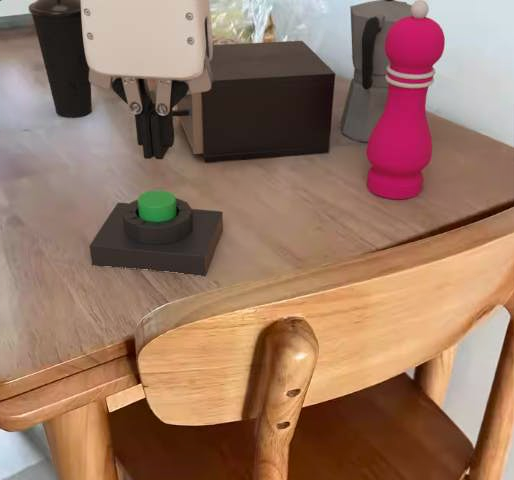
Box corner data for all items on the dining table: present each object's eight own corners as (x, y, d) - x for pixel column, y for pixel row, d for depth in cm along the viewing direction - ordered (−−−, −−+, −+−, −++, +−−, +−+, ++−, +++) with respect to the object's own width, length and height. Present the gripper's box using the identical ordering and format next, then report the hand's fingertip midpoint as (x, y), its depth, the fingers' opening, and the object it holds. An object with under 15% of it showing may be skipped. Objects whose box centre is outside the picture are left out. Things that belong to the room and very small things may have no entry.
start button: (134, 222, 69) (132, 205, 68) (144, 204, 72) (143, 188, 71) (171, 225, 69) (170, 208, 68) (180, 208, 72) (179, 191, 70)
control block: (92, 265, 70) (86, 228, 67) (119, 221, 77) (116, 186, 74) (205, 276, 68) (204, 239, 66) (222, 230, 75) (222, 195, 73)
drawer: (159, 157, 87) (154, 90, 83) (146, 118, 97) (142, 57, 92) (309, 145, 91) (313, 81, 86) (283, 109, 101) (285, 50, 96)
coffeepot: (353, 109, 104) (367, -31, 93) (418, 119, 101) (441, -23, 90) (318, 148, 93) (330, -6, 82) (391, 161, 90) (413, 4, 79)
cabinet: (204, 162, 89) (202, 81, 83) (186, 121, 99) (183, 46, 93) (328, 153, 92) (335, 73, 86) (298, 113, 102) (302, 40, 96)
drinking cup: (35, 117, 99) (6, -48, 87) (63, 99, 105) (40, -59, 93) (85, 124, 98) (64, -43, 85) (111, 105, 103) (94, -54, 91)
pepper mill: (435, 185, 85) (469, -2, 73) (409, 208, 80) (440, 13, 68) (379, 169, 88) (403, -12, 76) (351, 190, 83) (371, 1, 71)
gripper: (243, -84, 57) (245, 142, 68) (60, -88, 59) (91, 133, 70) (226, -69, 51) (231, 176, 63) (23, -75, 53) (63, 164, 64)
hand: (157, 152), depth 66 cm, fingers closed
